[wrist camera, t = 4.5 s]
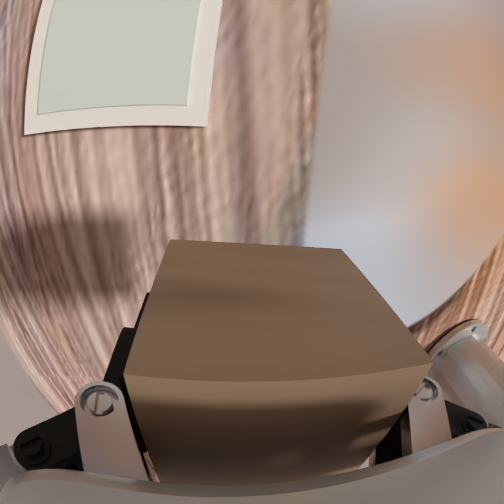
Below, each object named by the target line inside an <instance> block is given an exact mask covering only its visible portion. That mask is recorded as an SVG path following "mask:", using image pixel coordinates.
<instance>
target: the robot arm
mask: <svg viewBox="0 0 504 504" xmlns="http://www.w3.org/2000/svg"><path fill="white" fill-rule="evenodd" d="M149 294H150V293H147V294H146V296H145V299H144V302H143V305H142V307H141V310H140V313H139V316H138V318H137V321H136V324H135V327H134V328H127V327H124V328H123V329H122V331H121V333H120V336H119V338H118V341H117V344H116V346H115V349H114V352H113V354H112V357H111V360H110V363H109V365H108V368H107V371H106V374H105V377H104V380H103V381H95V382H91V383H88V384H86V385H85V386H83V387H82V388H81V389H80V390H79V391H78V392H77V394H76V396H75V407H74V408H72V409H69V410H67V411H65V412H63V413H61V414H59V415H57V416H55V417H53V418H50V419H48V420H46V421H44V422H42V423H39V424H37V425H35V426H33V427H31V428H28V429H26V430H24V431H23V432H21V433H20V434H19V435H18V436H17V437H16V439H15V442H14V444H13V445H12V446H10V447H9V446H8V445H7V444H5V445H2V446H0V504H504V363H503V362H502V360H501V359H500V358H499V357H498V356H497V355H496V354H495V353H494V351H493V350H492V349H491V348H490V347H489V346H488V345H487V344H486V341H487V336H488V330H487V327H486V325H485V324H484V323H483V322H482V321H480V320H477V319H476V320H470V321H467V322H464V323H463V324H461V325H459V326H457V327H456V328H454V329H453V330H451V331H450V332H449V333H448V334H447V335H445V336H444V337H443V338H442V339H441V340H440V341H439V342H438V343H437V344H436V345H435V346H434V347H433V348H432V349H431V350H430V351H429V352H428V356H429V357H430V358H431V360H432V361H433V365H432V366H431V368H430V370H429V371H428V373H427V375H426V377H425V378H424V380H423V382H422V383H421V385H420V386H419V388H418V390H417V391H416V393H415V394H414V396H413V397H412V399H411V400H410V402H409V403H408V405H407V406H406V408H405V409H404V411H403V412H402V414H401V415H400V417H399V418H398V419H397V421H396V422H395V423H394V425H393V426H392V428H391V429H390V430H389V432H388V433H387V434H386V436H385V437H384V438H383V439H382V441H381V442H380V443H379V445H378V446H377V447H376V448H375V449H374V451H373V452H372V453H371V454H370V456H369V467H367V468H363V469H359V470H354V471H350V472H345V473H341V474H336V475H330V476H325V477H319V478H313V479H306V480H299V481H291V482H282V483H271V484H256V485H229V486H215V485H187V484H173V483H161V482H154V481H153V478H152V476H151V473H150V470H149V467H148V465H147V462H146V459H145V456H144V453H145V452H146V451H147V448H146V445H145V442H144V440H143V437H142V434H141V431H140V428H139V425H138V422H137V419H136V416H135V413H134V410H133V406H132V403H131V400H130V396H129V393H128V389H127V386H126V382H125V379H124V375H123V373H124V370H125V367H126V363H127V360H128V357H129V354H130V350H131V347H132V344H133V341H134V338H135V335H136V332H137V329H138V326H139V323H140V320H141V317H142V314H143V311H144V308H145V305H146V302H147V300H148V297H149Z"/></svg>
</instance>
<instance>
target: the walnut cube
mask: <svg viewBox="0 0 504 504" xmlns="http://www.w3.org/2000/svg"><path fill="white" fill-rule="evenodd" d="M432 365H433V361H432V360H431V358H430V357H429V356H428V354H427V353H426V352H425V350H424V349H423V348H422V347H421V345H420V344H419V343H418V341H417V340H416V339H415V337H414V336H413V335H412V334H411V332H410V331H409V330H408V328H407V327H406V326H405V325H404V324H403V322H402V321H401V320H400V318H399V317H398V316H397V315H396V313H395V312H394V311H393V310H392V308H391V307H390V306H389V305H388V303H387V302H386V301H385V300H384V299H383V297H382V296H381V295H380V294H379V293H378V291H377V290H376V289H375V288H374V287H373V285H372V284H371V283H370V282H369V281H368V279H367V278H366V277H365V276H364V275H363V274H362V272H361V271H360V270H359V269H358V268H357V267H356V265H355V264H354V263H353V262H352V261H351V260H350V259H349V257H348V256H347V255H346V254H345V253H344V252H343V251H342V250H341V249H331V248H314V247H297V246H280V245H262V244H245V243H226V242H208V241H188V240H170V242H169V244H168V247H167V249H166V252H165V254H164V257H163V259H162V262H161V264H160V267H159V270H158V272H157V275H156V278H155V280H154V283H153V286H152V288H151V291H150V294H149V297H148V300H147V302H146V305H145V308H144V311H143V314H142V317H141V320H140V323H139V326H138V329H137V332H136V335H135V338H134V341H133V344H132V347H131V350H130V354H129V357H128V360H127V363H126V367H125V370H124V373H123V375H124V379H125V382H126V386H127V389H128V393H129V396H130V400H131V403H132V406H133V410H134V413H135V416H136V419H137V422H138V425H139V428H140V431H141V434H142V437H143V440H144V442H145V445H146V448H147V451H148V453H149V456H150V458H151V461H152V463H153V466H154V468H155V471H156V473H157V476H158V478H159V480H160V482H161V483H173V484H187V485H215V486H229V485H256V484H271V483H282V482H291V481H299V480H306V479H313V478H319V477H325V476H330V475H336V474H341V473H345V472H350V471H354V470H357V469H358V468H359V467H360V466H361V465H362V464H363V463H364V461H365V460H366V459H367V458H368V457H369V456H370V454H371V453H372V452H373V451H374V449H375V448H376V447H377V446H378V445H379V443H380V442H381V441H382V439H383V438H384V437H385V436H386V434H387V433H388V432H389V430H390V429H391V428H392V426H393V425H394V423H395V422H396V421H397V419H398V418H399V417H400V415H401V414H402V412H403V411H404V409H405V408H406V406H407V405H408V403H409V402H410V400H411V399H412V397H413V396H414V394H415V393H416V391H417V390H418V388H419V386H420V385H421V383H422V382H423V380H424V378H425V377H426V375H427V373H428V371H429V370H430V368H431V366H432Z"/></svg>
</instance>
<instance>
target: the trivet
mask: <svg viewBox="0 0 504 504" xmlns="http://www.w3.org/2000/svg"><path fill="white" fill-rule="evenodd" d="M222 1H223V0H43V1H42V5H41V8H40V12H39V16H38V21H37V25H36V29H35V34H34V39H33V45H32V50H31V57H30V63H29V71H28V79H27V90H26V103H25V125H24V135H28V134H35V133H42V132H50V131H58V130H68V129H79V128H92V127H109V126H137V125H174V126H204V127H207V123H208V113H209V102H210V93H211V83H212V74H213V66H214V58H215V50H216V42H217V35H218V28H219V21H220V14H221V8H222Z"/></svg>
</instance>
